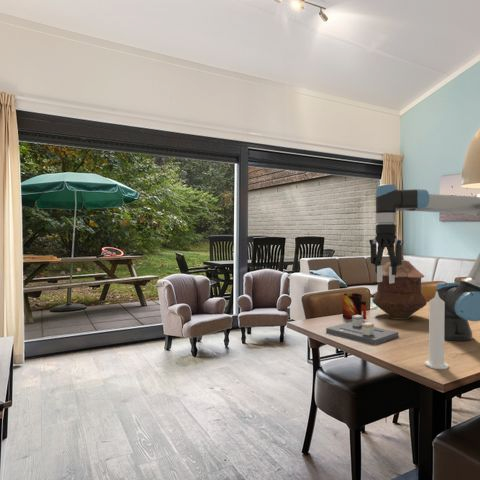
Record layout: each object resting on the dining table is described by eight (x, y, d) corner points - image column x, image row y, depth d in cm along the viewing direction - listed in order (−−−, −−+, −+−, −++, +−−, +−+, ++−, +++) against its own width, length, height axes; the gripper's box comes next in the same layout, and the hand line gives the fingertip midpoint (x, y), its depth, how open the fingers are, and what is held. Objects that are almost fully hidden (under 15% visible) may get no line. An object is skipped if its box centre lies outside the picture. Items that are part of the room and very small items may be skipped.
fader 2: (373, 333, 158) (373, 323, 158) (368, 335, 155) (368, 325, 155) (367, 332, 160) (367, 322, 160) (361, 334, 157) (361, 323, 157)
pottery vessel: (363, 316, 199) (363, 259, 198) (387, 309, 216) (387, 257, 215) (412, 325, 180) (412, 262, 179) (434, 317, 197) (434, 259, 196)
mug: (365, 322, 188) (365, 298, 188) (339, 318, 197) (339, 295, 197) (372, 318, 195) (372, 295, 195) (347, 314, 204) (347, 292, 204)
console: (398, 336, 161) (398, 331, 161) (374, 344, 150) (374, 339, 150) (350, 326, 180) (350, 321, 180) (326, 332, 169) (326, 327, 169)
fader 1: (363, 325, 172) (363, 315, 172) (357, 326, 169) (357, 317, 169) (357, 324, 174) (357, 314, 174) (352, 325, 172) (352, 315, 172)
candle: (440, 361, 130) (441, 289, 130) (453, 369, 123) (453, 292, 123) (420, 362, 130) (421, 289, 130) (431, 369, 123) (432, 293, 122)
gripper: (412, 223, 146) (412, 283, 146) (371, 224, 159) (371, 279, 160) (402, 223, 141) (402, 285, 142) (360, 224, 155) (360, 281, 155)
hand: (385, 282), depth 151 cm, fingers open, 4 cm apart
